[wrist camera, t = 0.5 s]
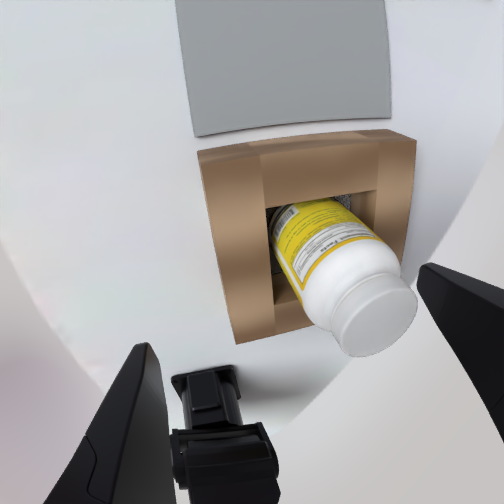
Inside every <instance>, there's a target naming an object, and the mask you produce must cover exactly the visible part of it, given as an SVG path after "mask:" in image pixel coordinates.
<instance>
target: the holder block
mask: <svg viewBox="0 0 504 504" xmlns="http://www.w3.org/2000/svg"><path fill="white" fill-rule="evenodd" d="M416 142H417V140H414V139H412V138H409V137H407V136H404V135H402V134H399V133H396V132H394V131H391V130H388V129H379V130H359V131H343V132H331V133H319V134H309V135H299V136H291V137H282V138H274V139H267V140H260V141H253V142H246V143H240V144H234V145H228V146H222V147H216V148H211V149H205V150H200V151H197V155H198V161H199V166H200V172H201V178H202V183H203V189H204V194H205V200H206V205H207V211H208V216H209V221H210V226H211V232H212V237H213V242H214V247H215V252H216V257H217V262H218V267H219V272H220V277H221V281H222V286H223V291H224V296H225V300H226V305H227V310H228V314H229V318H230V322H231V326H232V330H233V334H234V338H235V342H236V345H237V344H241V343H246V342H250V341H254V340H258V339H262V338H266V337H270V336H274V335H278V334H282V333H286V332H290V331H294V330H298V329H301V328H305V327H309V326H312V325H315V324H314V323H313V322H312V321H311V320H310V319H309V317H308V316H307V314H306V313H305V311H304V309H303V307H302V305H301V303H300V301H299V299H298V297H297V296H296V294H295V292H294V290H293V288H292V286H291V284H290V283H289V281H288V279H287V277H286V275H285V273H284V272H283V273H278V274H274V275H271V267H270V256H269V245H268V234H267V223H266V212H265V208H270V207H276V206H281V205H287V204H292V203H298V202H303V201H309V200H315V199H321V198H327V197H333V196H339V195H345V194H351V207H350V212H351V213H353V214H354V215H355V216H356V217H357V218H358V219H359V220H360V221H362V222H363V223H364V224H365V225H366V226H367V227H368V228H370V229H371V230H372V231H373V232H374V233H375V234H376V235H377V236H378V237H379V238H380V239H381V240H382V241H384V242H385V243H386V244H387V245H388V246H389V247H390V248H391V250H392V251H393V252H394V253H395V255H396V257H397V259H398V261H399V264H400V266H401V261H402V256H403V250H404V245H405V239H406V233H407V227H408V220H409V213H410V206H411V198H412V189H413V180H414V169H415V157H416Z"/></svg>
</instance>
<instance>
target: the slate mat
mask: <svg viewBox="0 0 504 504" xmlns="http://www.w3.org/2000/svg"><path fill="white" fill-rule="evenodd" d="M175 5H176V13H177V21H178V29H179V37H180V44H181V51H182V59H183V66H184V73H185V80H186V86H187V93H188V100H189V106H190V112H191V119H192V125H193V131H194V137H198V136H204V135H209V134H215V133H221V132H227V131H233V130H240V129H246V128H253V127H261V126H269V125H277V124H286V123H296V122H307V121H319V120H333V119H352V118H391V98H390V66H389V49H388V36H387V25H386V16H385V7H384V0H175Z"/></svg>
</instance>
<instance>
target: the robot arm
mask: <svg viewBox="0 0 504 504" xmlns="http://www.w3.org/2000/svg"><path fill="white" fill-rule="evenodd" d="M417 290H418V292H419V294H420V296H421V297H422V299H423V301H424V303H425V305H426V306H427V308H428V310H429V312H430V314H431V316H432V317H433V319H434V321H435V323H436V324H437V326H438V328H439V329H440V331H441V332H442V334H443V335H444V337H445V339H446V340H447V342H448V343H449V345H450V346H451V348H452V349H453V351H454V353H455V354H456V356H457V357H458V359H459V361H460V362H461V364H462V366H463V367H464V369H465V371H466V372H467V374H468V376H469V378H470V379H471V381H472V383H473V385H474V386H475V388H476V390H477V392H478V393H479V395H480V397H481V399H482V401H483V402H484V404H485V406H486V408H487V410H488V412H489V414H490V416H491V418H492V420H493V422H494V424H495V426H496V428H497V430H498V432H499V434H500V436H501V438H502V440H503V442H504V289H501V288H499V287H496V286H494V285H491V284H488V283H486V282H483V281H481V280H478V279H475V278H472V277H470V276H467V275H465V274H462V273H459V272H457V271H454V270H451V269H448V268H445V267H443V266H440V265H437V264H434V263H431V262H430V263H427V264H424V265H422V266H421V267H420V270H419V275H418V280H417ZM171 383H172V385H173V387H174V389H175V390H176V392H177V394H178V396H179V397H180V399H181V401H182V404H183V413H184V421H185V429H180V430H178V429H172V434H171V435H169V425H168V412H167V405H166V399H165V393H164V387H163V381H162V375H161V368H160V363H159V360H158V358H157V356H156V355H155V353H154V351H153V349H152V347H151V345H150V344H149V343H148V342H144V343H140V344H136V345H135V346H134V347H133V349H132V350H131V352H130V354H129V356H128V357H127V359H126V361H125V362H124V364H123V366H122V368H121V369H120V371H119V373H118V375H117V376H116V378H115V380H114V382H113V384H112V385H111V387H110V389H109V391H108V392H107V394H106V396H105V398H104V400H103V402H102V403H101V405H100V407H99V409H98V411H97V413H96V414H95V416H94V418H93V420H92V422H91V424H90V426H89V427H88V429H87V431H86V433H85V434H86V436H84V437H83V439H82V441H81V443H80V445H79V447H78V448H77V450H76V452H75V454H74V456H73V457H72V459H71V461H70V462H69V464H68V466H67V467H66V469H65V470H64V472H63V474H62V475H61V477H60V478H59V480H58V481H57V483H56V484H55V486H54V488H53V489H52V491H51V493H50V494H49V495H48V497H47V499H46V500H45V501H44V503H43V504H176V496H175V489H174V479H175V480H176V483H178V484H179V489H180V490H186V489H188V494H189V500H190V504H278V502H279V497H280V494H281V492H280V489H279V486H278V483H277V480H276V478H277V477H278V474H279V464H278V459H277V455H276V452H275V450H274V448H273V446H272V443H271V441H270V440H269V437H268V435H267V433H266V431H265V429H264V426H263V424H262V422H256V423H255V424H247V425H243V421H242V417H241V413H240V409H239V405H238V401H237V400H239V399H240V398H241V396H240V392H239V388H238V385H237V381H236V377H235V374H234V370H233V367H232V366H224V367H219V368H214V369H209V370H204V371H199V372H194V373H188V374H183V375H177V376H173V377H171ZM180 452H182V453H180ZM173 478H174V479H173Z"/></svg>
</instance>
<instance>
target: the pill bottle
mask: <svg viewBox="0 0 504 504" xmlns="http://www.w3.org/2000/svg"><path fill="white" fill-rule="evenodd" d="M268 236H269V243H270V246H271V248H272V251H273V253H274V255H275V257H276V258H277V260H278V262H279V264H280V266H281V268H282V269H283V271H284V273H285V275H286V277H287V279H288V281H289V283H290V284H291V286H292V288H293V290H294V292H295V294H296V296H297V297H298V299H299V301H300V303H301V305H302V307H303V309H304V311H305V313H306V314H307V316H308V317H309V319H310V320H311V321H312V322H313V323H314V324H315V325H316V326H318V327H319V328H321V329H323V330H326V331H329V332H333V335H334V337H335V339H336V341H337V342H338V344H339V346H340V347H341V349H342V350H343V351H344V352H345V353H346V354H347V355H349V356H352V357H366V356H370V355H374V354H376V353H378V352H380V351H382V350H384V349H386V348H387V347H389V346H390V345H392V344H393V343H394V342H396V341H397V340H398V339H399V338H400V337H401V336H402V335H403V334H404V333H405V331H406V330H407V329H408V328H409V326H410V325H411V323H412V321H413V319H414V317H415V315H416V312H417V307H418V300H417V297H416V295H415V293H414V292H413V291H412V289H411V288H410V287H409V286H408V285H407V283H406V282H405V281H404V280H403V279H402V278H401V269H400V264H399V261H398V259H397V257H396V255H395V253H394V252H393V251H392V250H391V248H390V247H389V246H388V245H387V244H386V243H385V242H384V241H382V240H381V239H380V238H379V237H378V236H377V235H376V234H375V233H374V232H373V231H372V230H371V229H370V228H368V227H367V226H366V225H365V224H364V223H363V222H362V221H360V220H359V219H358V218H357V217H356V216H355V215H354V214H353V213H351V212H350V211H349V210H348V209H347V208H346V207H344V206H343V205H342V204H341V203H340V202H338V201H337V200H336V199H334V198H333V197H327V198H321V199H315V200H309V201H303V202H298V203H292V204H287V205H281V206H279V207H278V209H277V210H276V212H275V213H274V215H273V217H272V219H271V222H270V225H269V231H268Z"/></svg>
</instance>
